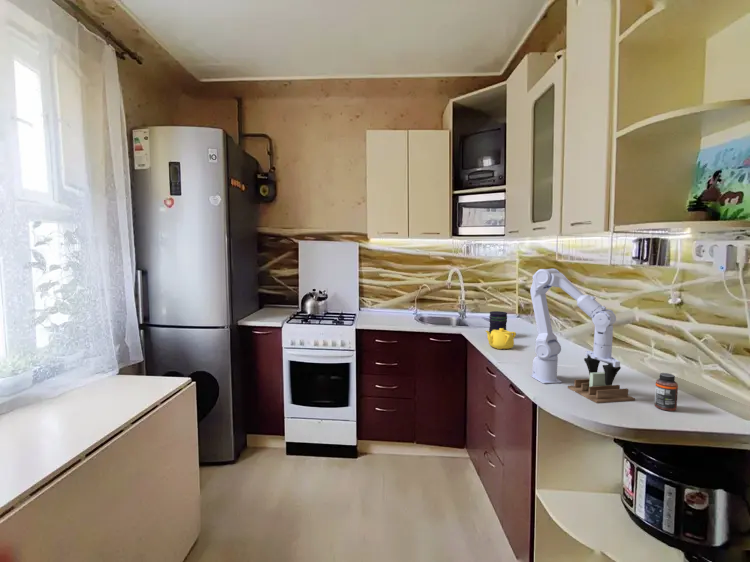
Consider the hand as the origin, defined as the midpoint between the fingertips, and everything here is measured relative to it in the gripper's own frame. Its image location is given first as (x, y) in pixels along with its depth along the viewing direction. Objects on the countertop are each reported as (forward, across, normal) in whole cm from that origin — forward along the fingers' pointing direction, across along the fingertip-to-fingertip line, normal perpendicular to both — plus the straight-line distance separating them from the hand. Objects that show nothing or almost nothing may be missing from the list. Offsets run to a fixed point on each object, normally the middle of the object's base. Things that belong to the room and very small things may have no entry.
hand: (600, 381), depth 146 cm
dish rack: (+5, 0, 0) cm, 5 cm away
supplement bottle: (+5, +15, +12) cm, 20 cm away
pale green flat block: (+4, 0, 0) cm, 4 cm away
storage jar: (+5, -91, +8) cm, 91 cm away
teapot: (+5, -69, -2) cm, 69 cm away
